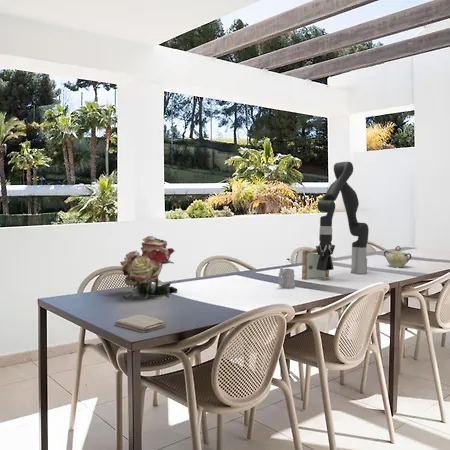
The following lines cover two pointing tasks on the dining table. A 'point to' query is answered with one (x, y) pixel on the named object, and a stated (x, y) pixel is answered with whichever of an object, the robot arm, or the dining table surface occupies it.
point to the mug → (286, 278)
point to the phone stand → (325, 262)
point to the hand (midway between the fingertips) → (325, 261)
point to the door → (314, 267)
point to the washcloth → (141, 323)
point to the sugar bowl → (397, 258)
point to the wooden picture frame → (304, 263)
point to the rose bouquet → (147, 269)
